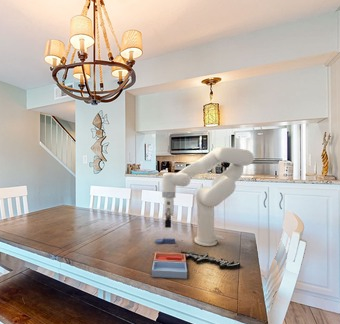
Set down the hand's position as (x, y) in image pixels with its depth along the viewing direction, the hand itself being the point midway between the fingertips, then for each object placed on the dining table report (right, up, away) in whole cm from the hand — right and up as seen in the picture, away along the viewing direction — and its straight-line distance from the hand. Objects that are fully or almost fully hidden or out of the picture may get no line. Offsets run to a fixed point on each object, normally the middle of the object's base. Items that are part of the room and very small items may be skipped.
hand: (168, 224), depth 119 cm
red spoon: (-1, -10, -22) cm, 25 cm away
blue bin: (-2, -11, -31) cm, 33 cm away
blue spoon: (-2, -10, +1) cm, 11 cm away
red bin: (-1, -11, -23) cm, 25 cm away
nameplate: (+17, -11, -21) cm, 30 cm away
